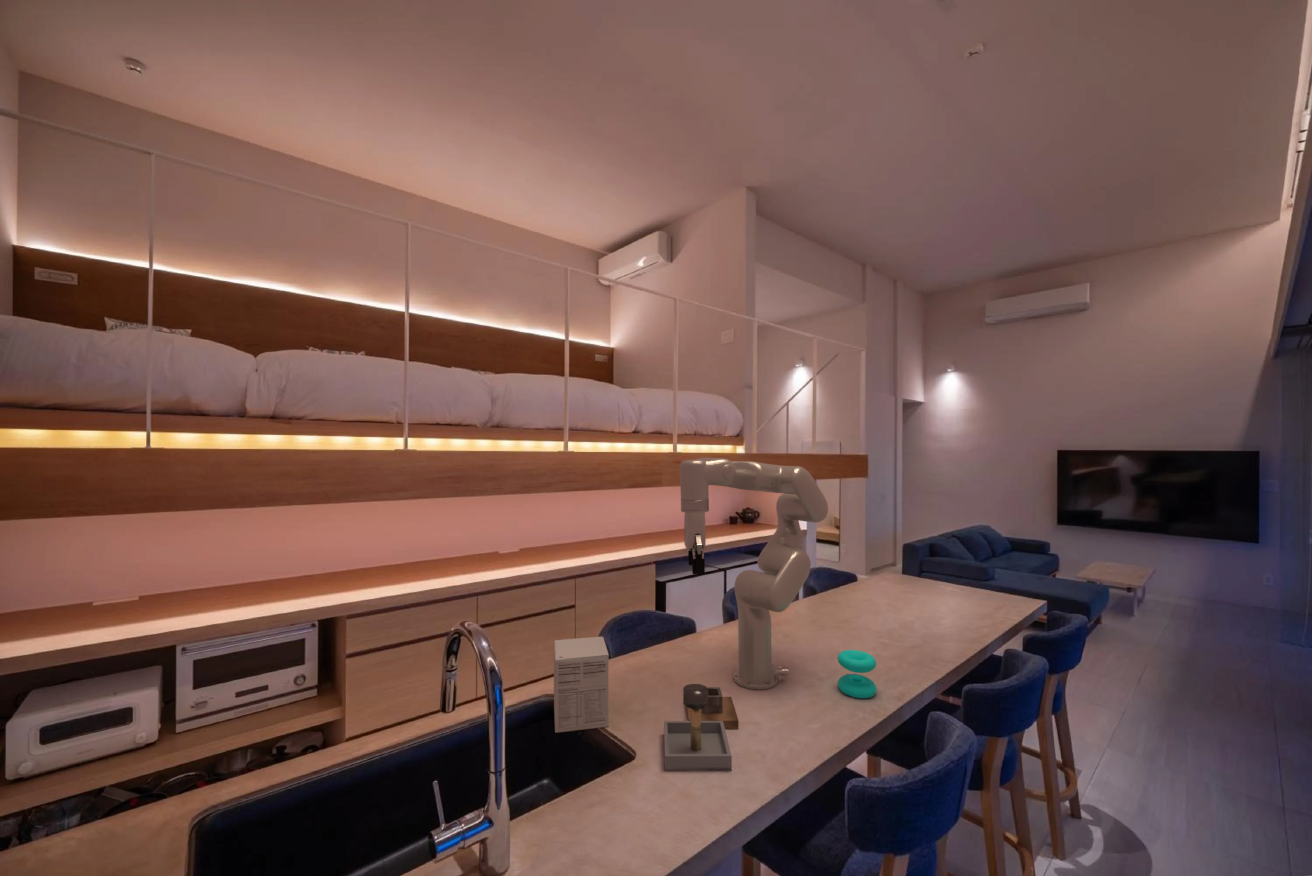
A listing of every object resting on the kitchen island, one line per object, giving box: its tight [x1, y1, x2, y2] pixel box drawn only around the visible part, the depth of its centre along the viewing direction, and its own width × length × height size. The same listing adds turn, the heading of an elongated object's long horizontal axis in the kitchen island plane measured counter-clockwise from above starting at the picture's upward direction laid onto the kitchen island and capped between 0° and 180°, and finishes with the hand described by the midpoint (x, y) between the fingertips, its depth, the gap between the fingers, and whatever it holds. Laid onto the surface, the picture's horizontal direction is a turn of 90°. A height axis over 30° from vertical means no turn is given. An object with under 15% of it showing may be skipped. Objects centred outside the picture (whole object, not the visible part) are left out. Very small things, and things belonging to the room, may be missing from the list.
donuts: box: [837, 649, 877, 699], centre depth 143 cm, size 10×10×10 cm
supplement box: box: [553, 636, 610, 734], centre depth 130 cm, size 13×13×18 cm
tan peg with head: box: [682, 683, 708, 751], centre depth 115 cm, size 6×6×13 cm
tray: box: [663, 720, 733, 772], centre depth 115 cm, size 14×14×3 cm
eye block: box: [685, 686, 740, 730], centre depth 130 cm, size 12×12×6 cm
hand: (696, 569), depth 138 cm, fingers open, 9 cm apart
